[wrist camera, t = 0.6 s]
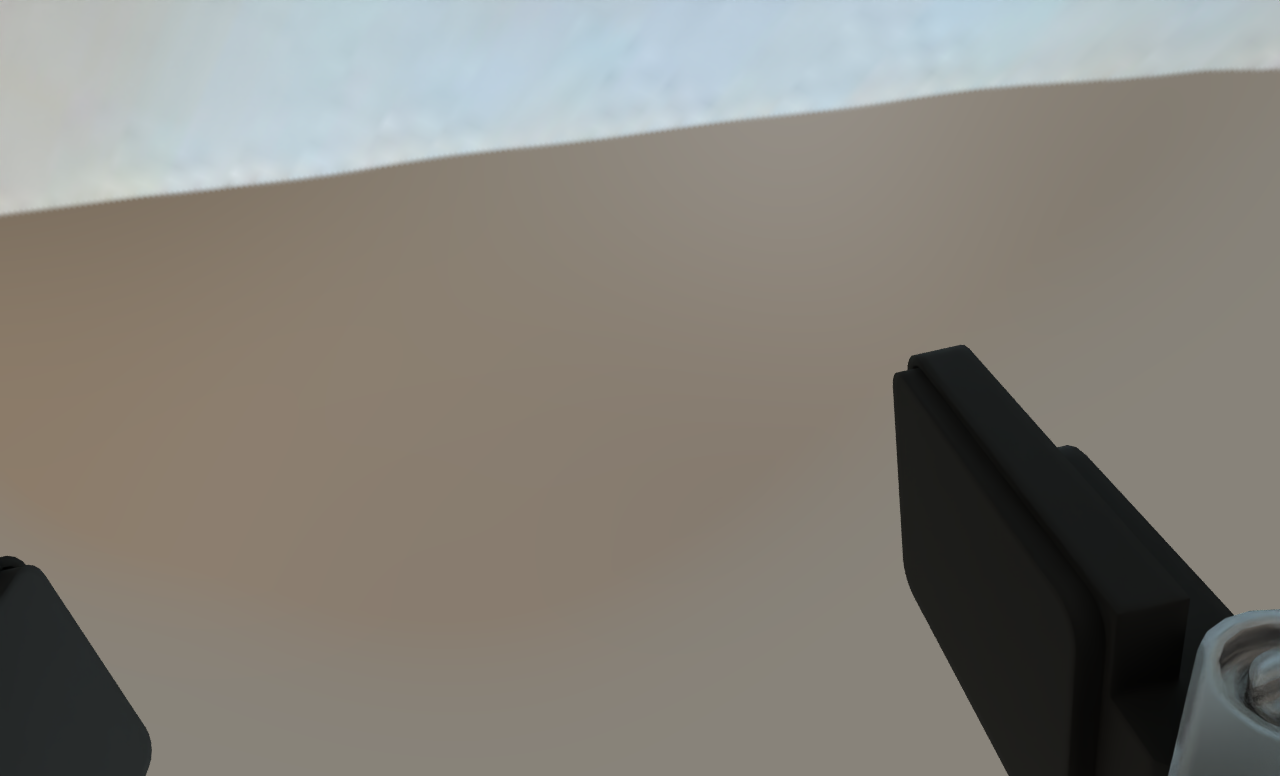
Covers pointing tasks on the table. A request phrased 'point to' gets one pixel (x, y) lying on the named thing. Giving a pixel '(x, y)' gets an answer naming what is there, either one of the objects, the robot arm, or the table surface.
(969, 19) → the table surface
